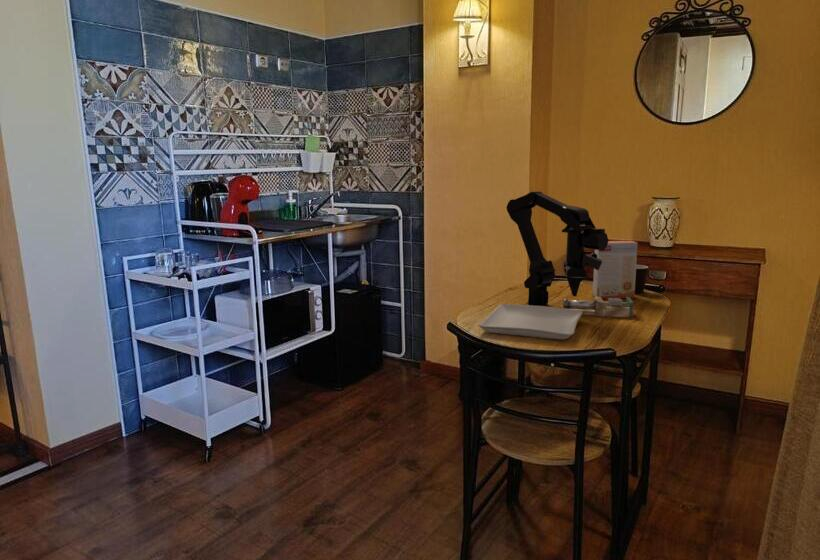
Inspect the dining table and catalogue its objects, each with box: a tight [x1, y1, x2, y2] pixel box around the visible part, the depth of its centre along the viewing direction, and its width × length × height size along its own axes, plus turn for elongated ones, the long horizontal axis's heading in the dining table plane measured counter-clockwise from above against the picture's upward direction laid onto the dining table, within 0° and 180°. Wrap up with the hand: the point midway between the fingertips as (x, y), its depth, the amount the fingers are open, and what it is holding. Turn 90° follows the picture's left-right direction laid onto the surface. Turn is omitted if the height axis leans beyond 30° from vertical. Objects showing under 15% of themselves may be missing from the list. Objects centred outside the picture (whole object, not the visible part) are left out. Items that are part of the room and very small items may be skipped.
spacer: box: [607, 298, 623, 307], centre depth 190 cm, size 4×4×4 cm
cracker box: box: [592, 240, 638, 299], centre depth 212 cm, size 14×6×21 cm, turn 89°
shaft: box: [562, 298, 596, 310], centre depth 192 cm, size 12×4×4 cm, turn 79°
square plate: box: [478, 303, 583, 341], centre depth 177 cm, size 27×27×4 cm
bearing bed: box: [573, 296, 634, 318], centre depth 191 cm, size 20×7×5 cm, turn 79°
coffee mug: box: [635, 264, 649, 295], centre depth 222 cm, size 12×9×10 cm
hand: (573, 292), depth 192 cm, fingers open, 9 cm apart
